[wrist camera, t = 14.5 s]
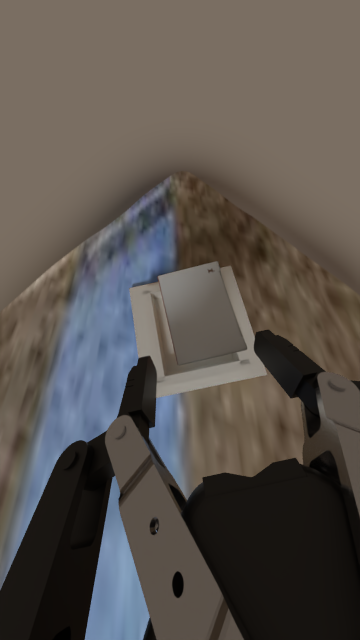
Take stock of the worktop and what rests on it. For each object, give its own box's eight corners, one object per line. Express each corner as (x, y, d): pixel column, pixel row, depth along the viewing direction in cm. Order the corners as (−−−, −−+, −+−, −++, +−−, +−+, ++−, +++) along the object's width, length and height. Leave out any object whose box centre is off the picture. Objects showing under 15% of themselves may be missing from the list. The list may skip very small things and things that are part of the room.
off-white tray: (146, 397, 20) (138, 407, 17) (131, 290, 24) (122, 281, 20) (263, 373, 20) (278, 378, 16) (229, 268, 24) (235, 255, 20)
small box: (170, 308, 22) (155, 273, 11) (203, 300, 22) (218, 257, 11) (182, 357, 20) (175, 367, 10) (218, 348, 20) (250, 350, 10)
